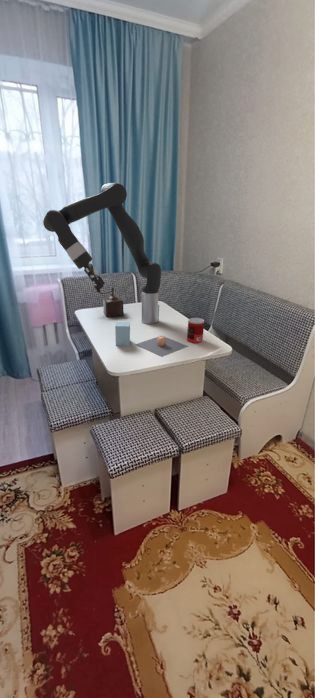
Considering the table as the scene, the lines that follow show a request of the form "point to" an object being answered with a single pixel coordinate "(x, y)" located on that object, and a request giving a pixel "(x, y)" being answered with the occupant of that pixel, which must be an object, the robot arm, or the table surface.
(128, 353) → the table surface
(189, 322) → the canned food
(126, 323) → the light blue tall box
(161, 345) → the peach rounded cylinder
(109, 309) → the pepper mill
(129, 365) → the table surface
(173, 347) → the mat
